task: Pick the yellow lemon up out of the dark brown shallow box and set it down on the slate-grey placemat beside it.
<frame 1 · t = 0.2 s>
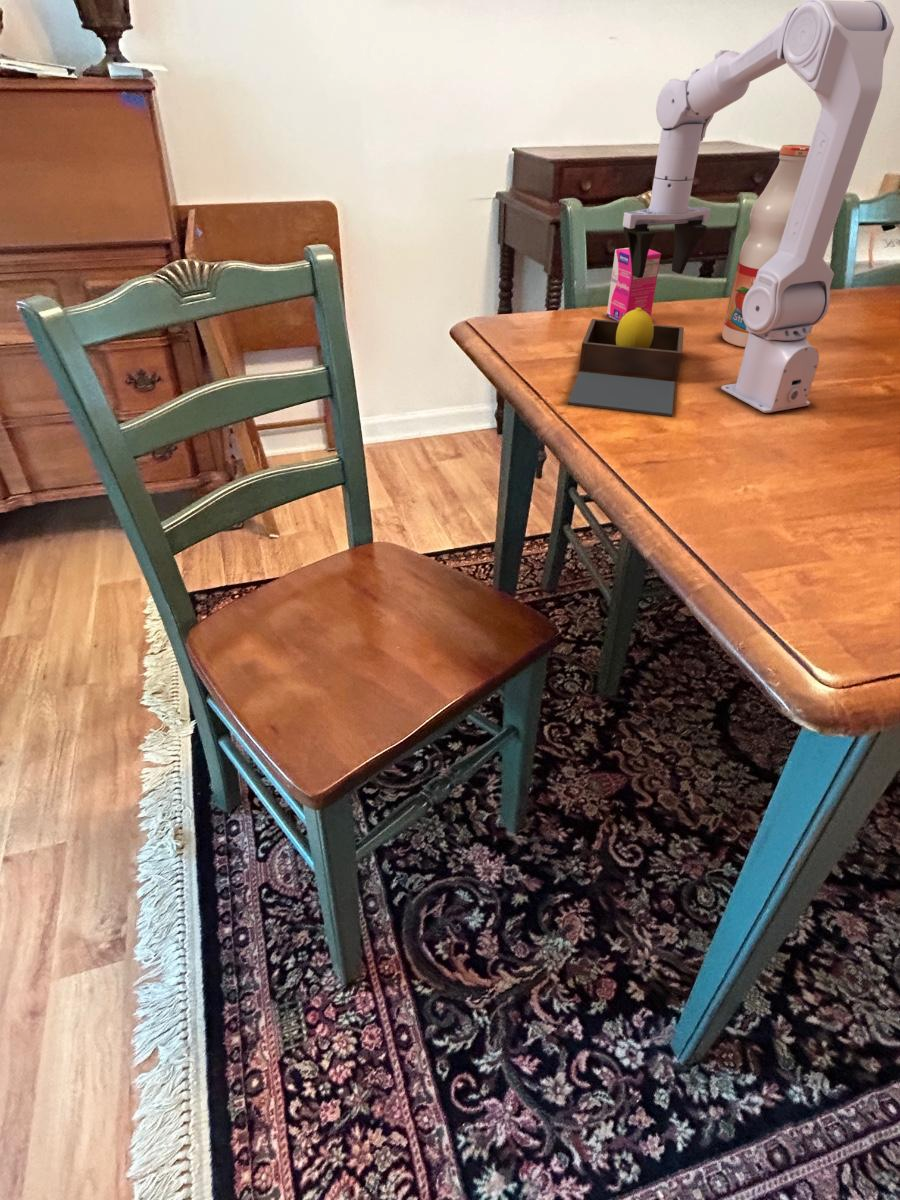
hand: (657, 274, 119), 10 cm above the table, tool pointing down, fingers open, 7 cm apart
fruit juice: (749, 341, 125), on the table
supplement box: (627, 320, 133), on the table
placemat: (622, 394, 105), on the table
lemon: (630, 362, 115), resting on dark brown shallow box
dark brown shallow box: (630, 362, 115), on the table
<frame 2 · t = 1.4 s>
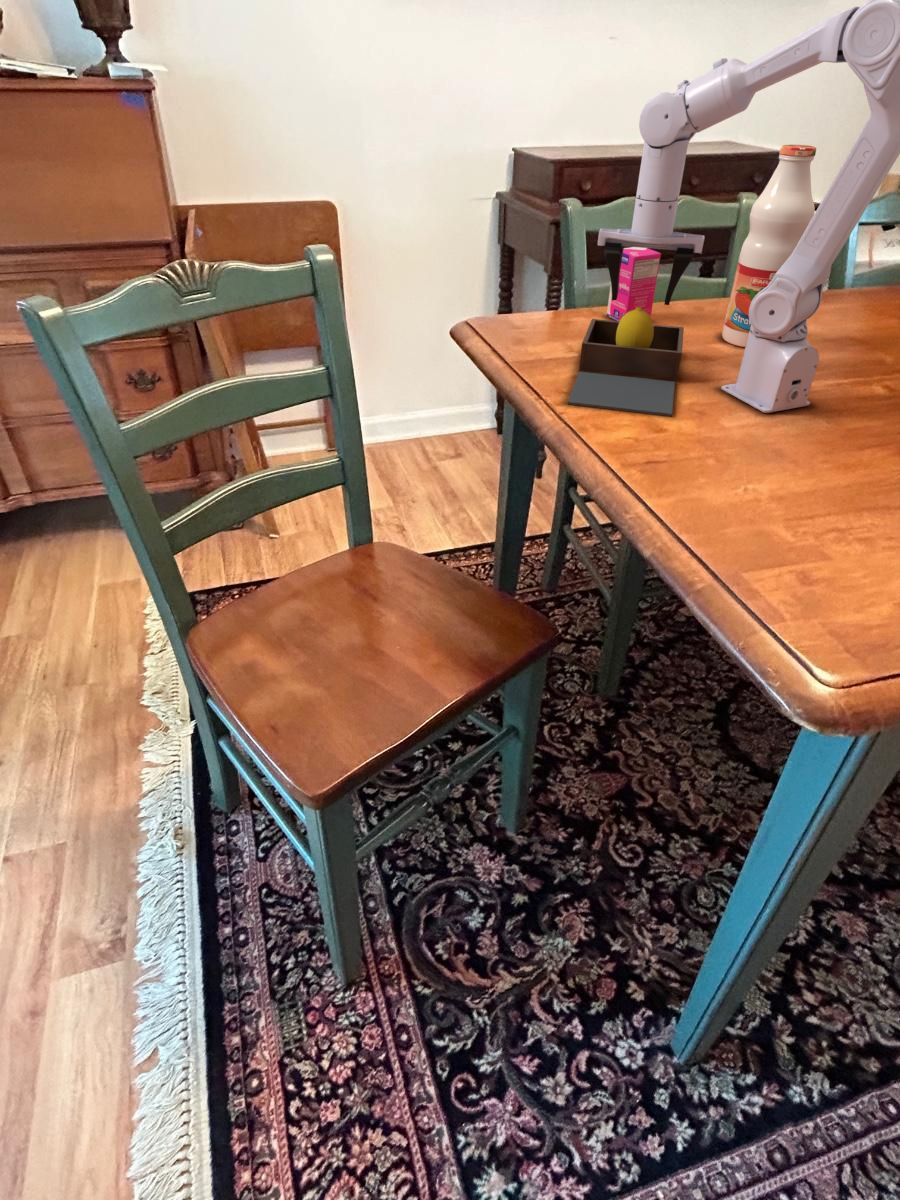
hand: (640, 300, 110), 9 cm above the table, tool pointing down, fingers open, 7 cm apart
nothing on the table moved.
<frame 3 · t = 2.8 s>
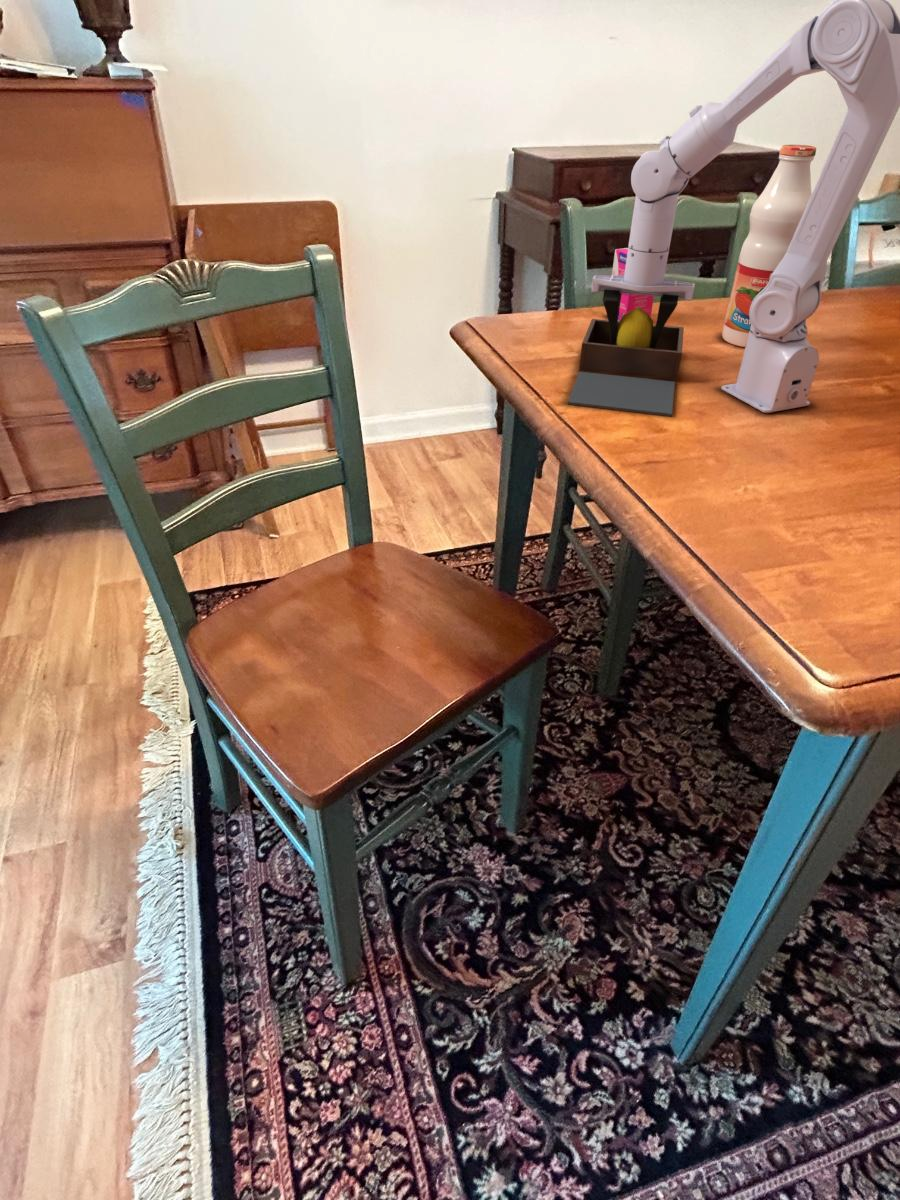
hand: (633, 344, 114), 3 cm above the table, tool pointing down, fingers closed on lemon, 5 cm apart
lemon: (630, 362, 115), resting on dark brown shallow box, touching gripper
everything else where it was.
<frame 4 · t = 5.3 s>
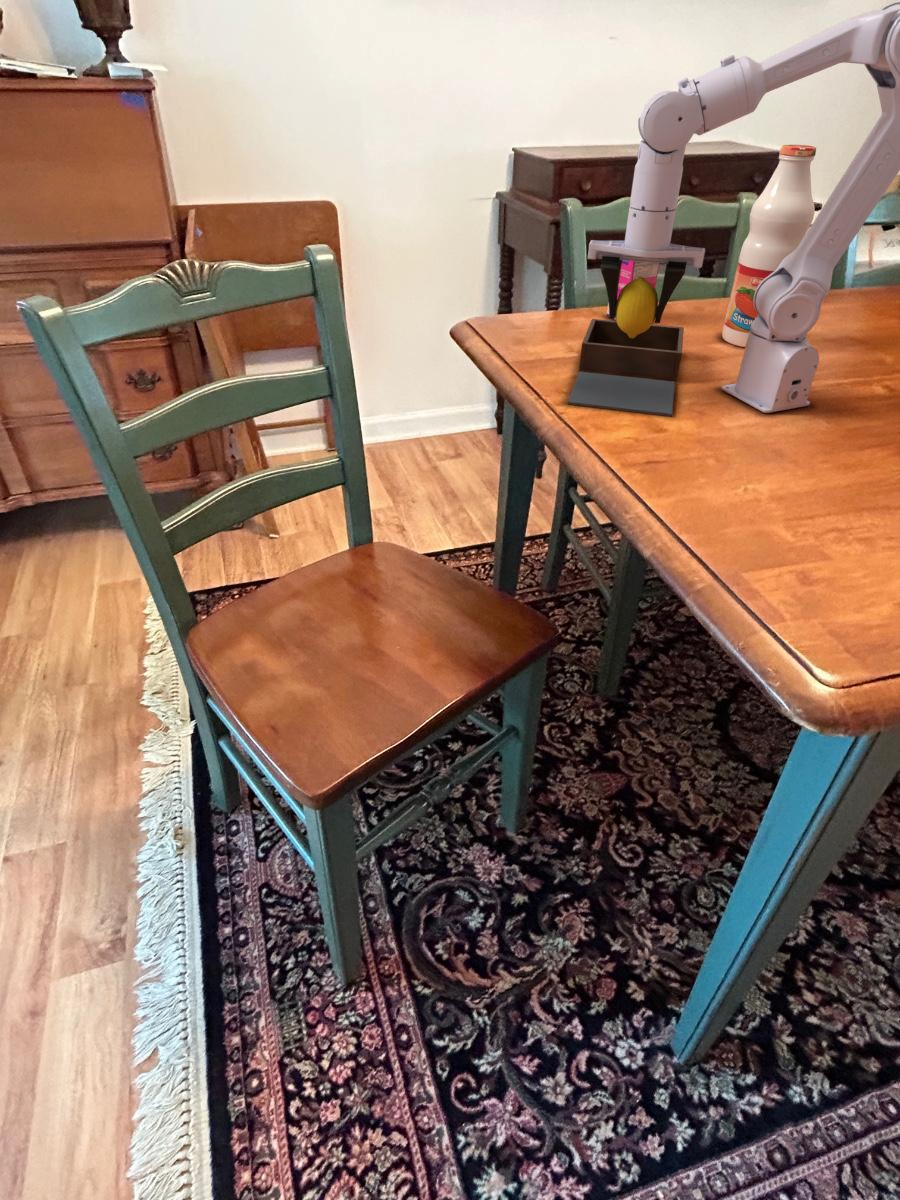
hand: (635, 318, 101), 10 cm above the table, tool pointing down, fingers closed on lemon, 5 cm apart
lemon: (631, 339, 103), point 7 cm above the table, touching gripper
everything else where it was.
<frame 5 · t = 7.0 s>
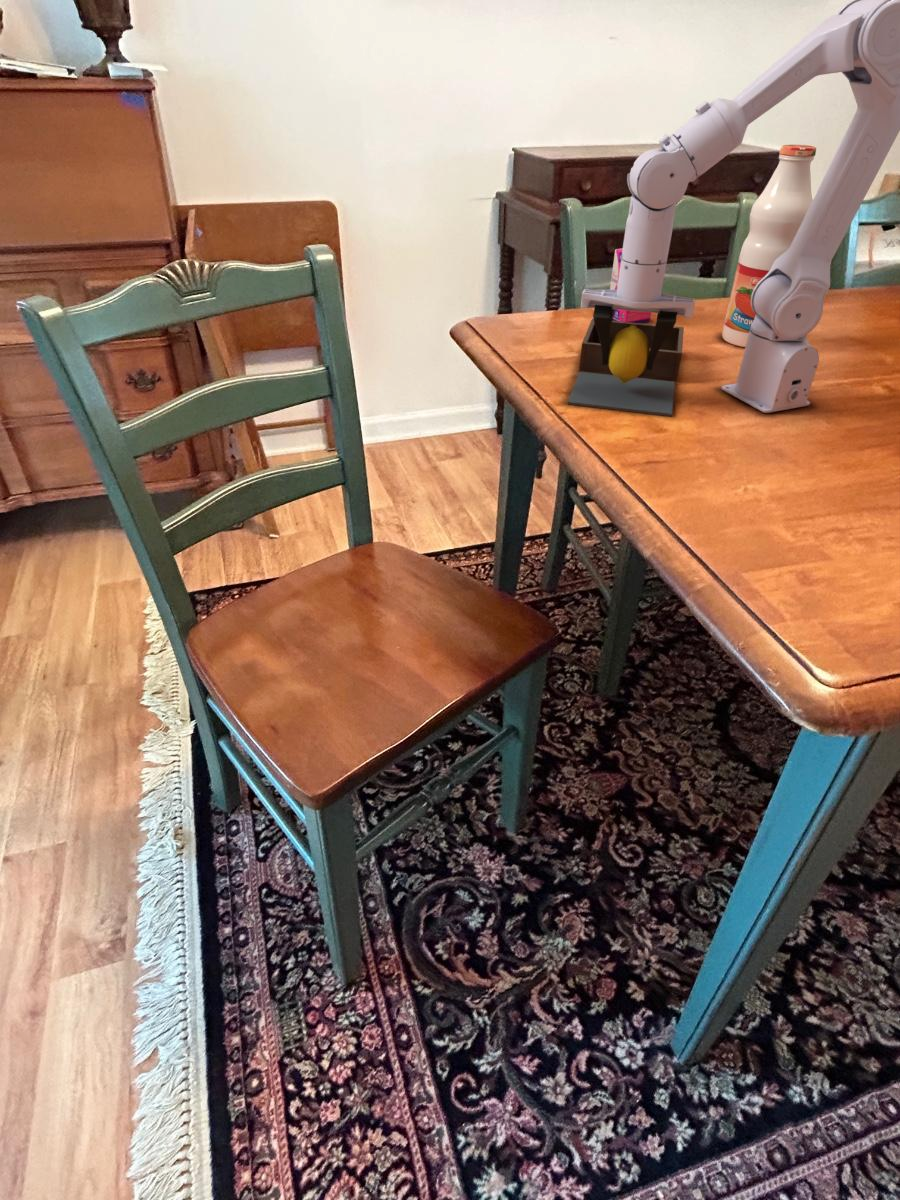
hand: (627, 364, 103), 4 cm above the table, tool pointing down, fingers closed on lemon, 5 cm apart
lemon: (623, 384, 104), point 1 cm above the table, touching gripper
everything else where it was.
when the fingers open (3 cm above the table, at t = 8.0 s): lemon stays where it is, resting on placemat.
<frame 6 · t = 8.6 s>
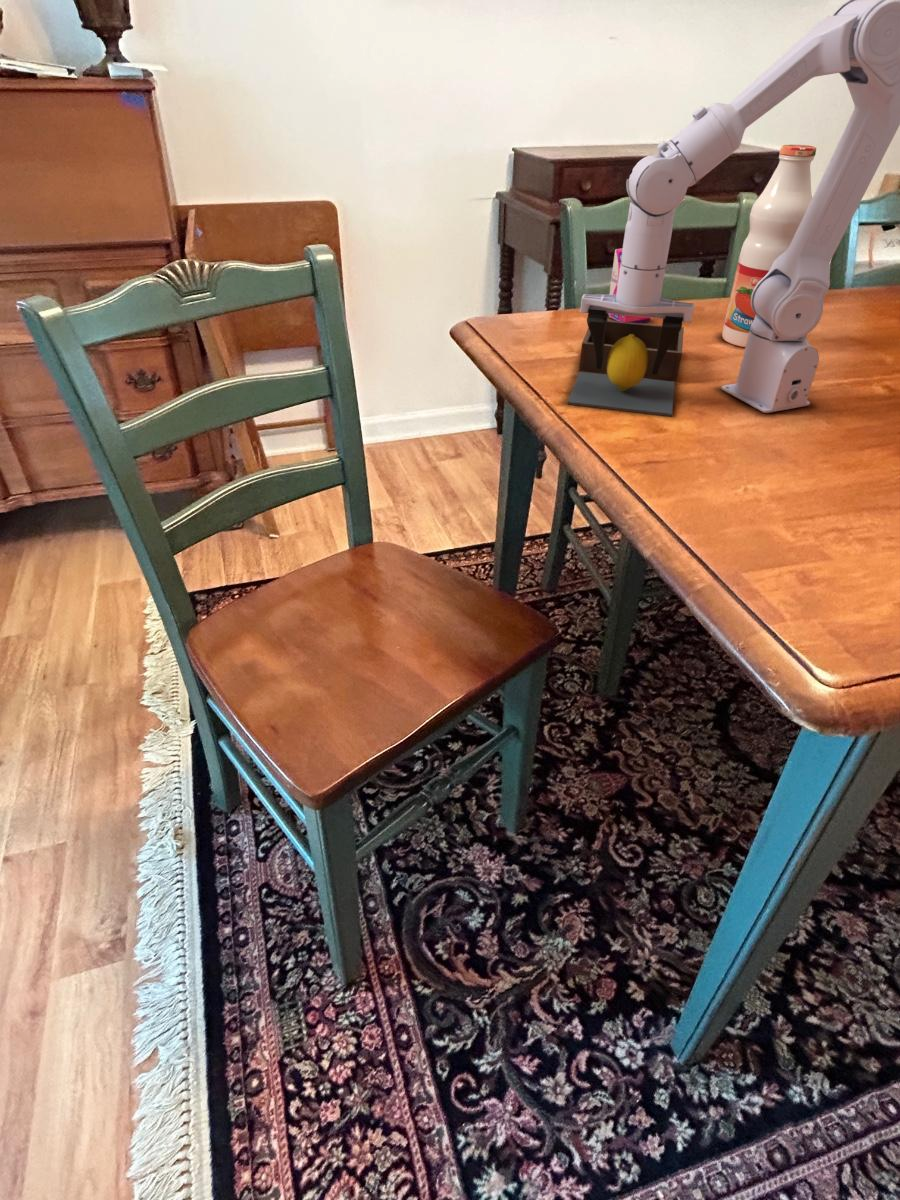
hand: (626, 369, 103), 4 cm above the table, tool pointing down, fingers open, 7 cm apart
lemon: (622, 392, 105), resting on placemat
everything else where it was.
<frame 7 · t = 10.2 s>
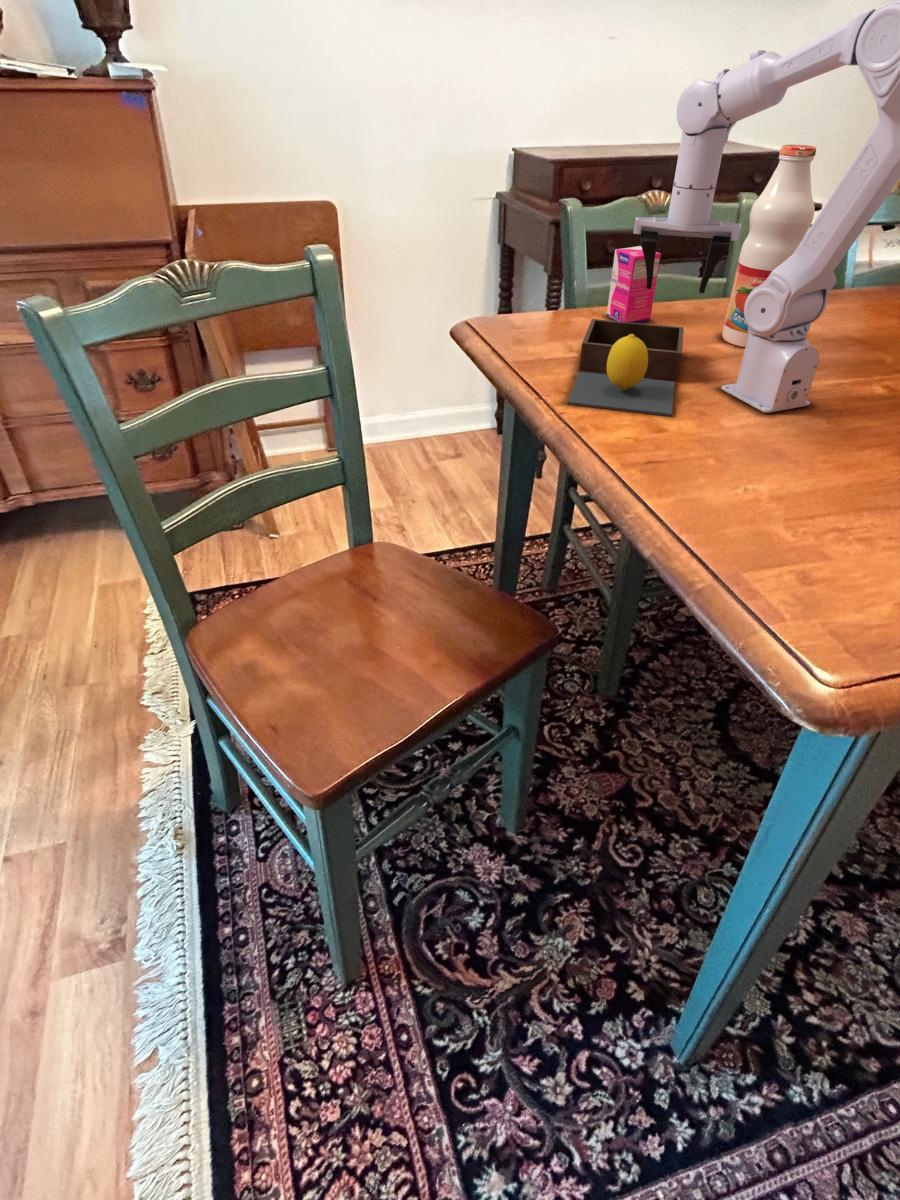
hand: (675, 289, 111), 10 cm above the table, tool pointing down, fingers open, 7 cm apart
nothing on the table moved.
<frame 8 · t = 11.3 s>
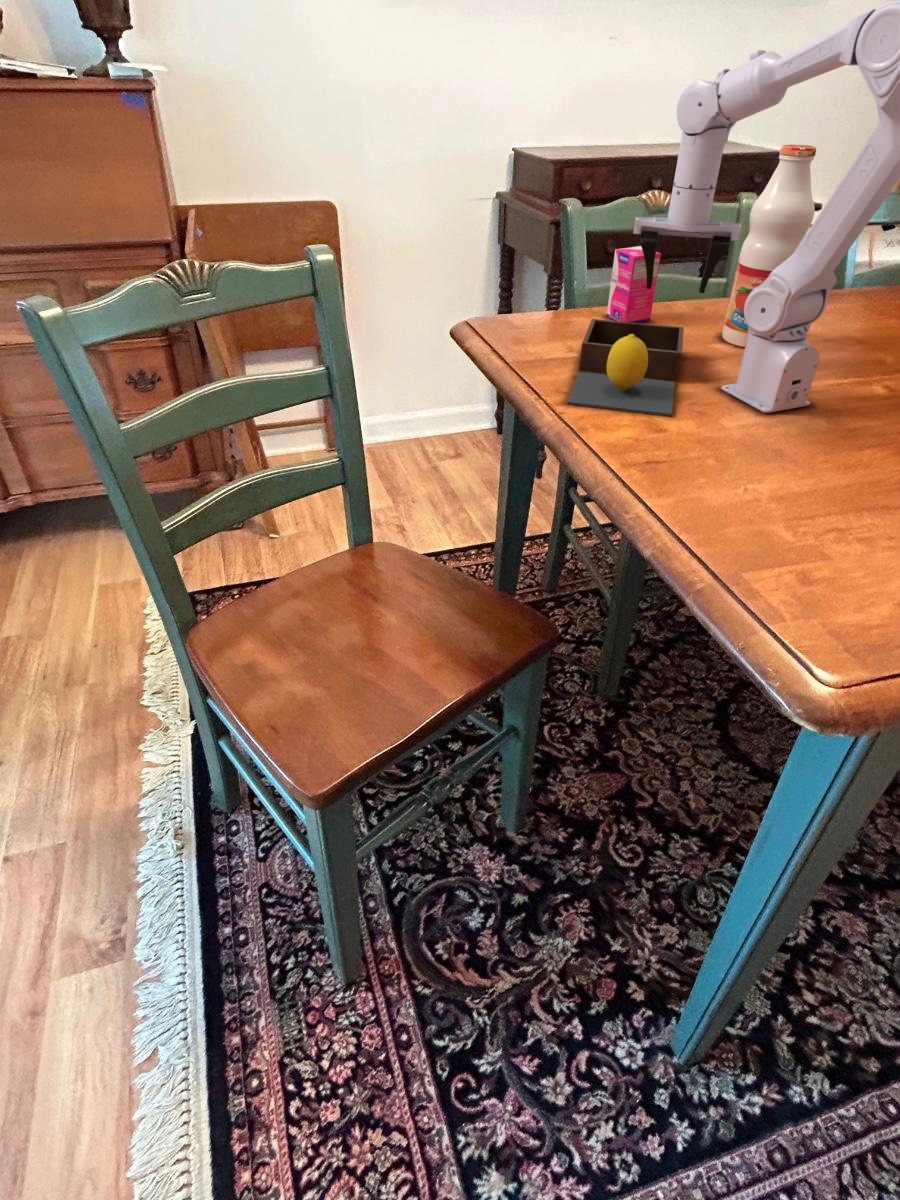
hand: (675, 289, 111), 10 cm above the table, tool pointing down, fingers open, 7 cm apart
nothing on the table moved.
at the end: lemon inside the target area on the placemat (0.0 cm from its centre), point 0.2 cm above the placemat's base; lemon touching placemat; the gripper is holding nothing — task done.
